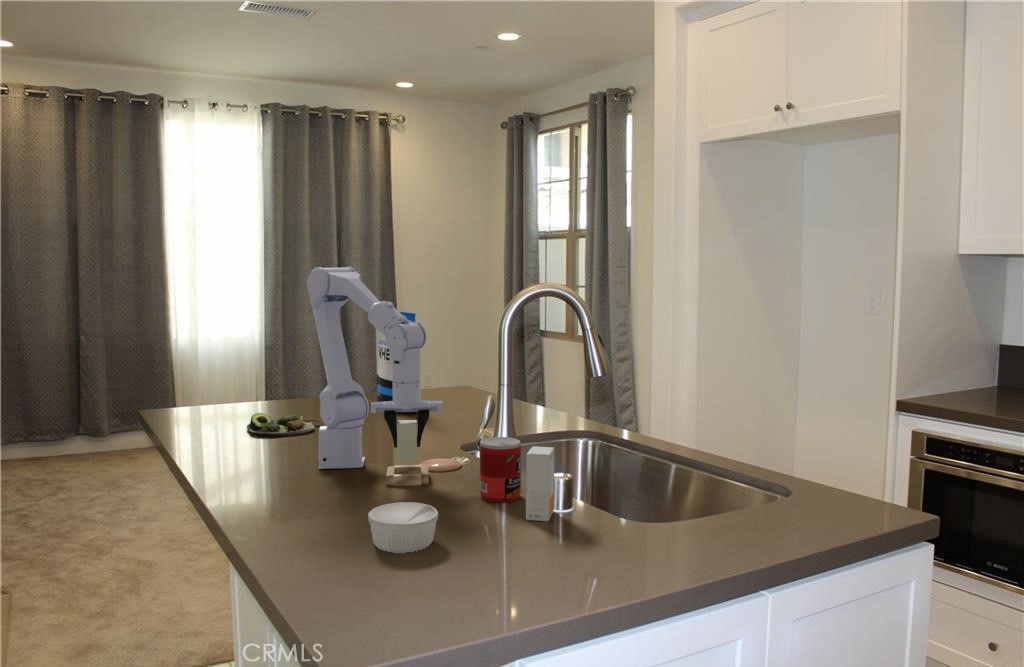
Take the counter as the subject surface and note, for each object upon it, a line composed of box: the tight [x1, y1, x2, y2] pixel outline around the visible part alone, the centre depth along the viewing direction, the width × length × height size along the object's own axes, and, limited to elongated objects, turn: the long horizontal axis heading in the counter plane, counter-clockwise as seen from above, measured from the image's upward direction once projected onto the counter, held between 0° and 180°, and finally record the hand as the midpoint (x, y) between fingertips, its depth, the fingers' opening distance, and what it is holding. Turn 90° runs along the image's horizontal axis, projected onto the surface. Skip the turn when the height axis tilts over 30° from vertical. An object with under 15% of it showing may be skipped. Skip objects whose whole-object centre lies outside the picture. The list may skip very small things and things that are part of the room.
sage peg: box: [396, 419, 418, 464], centre depth 164 cm, size 4×4×8 cm
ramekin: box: [367, 501, 439, 554], centre depth 128 cm, size 11×11×5 cm
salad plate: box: [246, 412, 322, 438], centre depth 213 cm, size 19×18×5 cm
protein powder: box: [375, 311, 418, 416], centre depth 241 cm, size 10×24×30 cm, turn 38°
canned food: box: [479, 436, 522, 504], centre depth 152 cm, size 8×8×11 cm
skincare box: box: [525, 446, 555, 522], centre depth 141 cm, size 6×4×12 cm
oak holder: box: [385, 464, 429, 487], centre depth 165 cm, size 8×8×2 cm
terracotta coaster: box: [419, 458, 462, 473], centre depth 175 cm, size 9×9×1 cm
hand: (407, 446), depth 164 cm, fingers closed on sage peg, 4 cm apart
